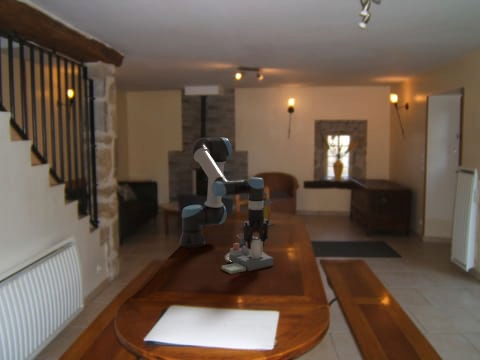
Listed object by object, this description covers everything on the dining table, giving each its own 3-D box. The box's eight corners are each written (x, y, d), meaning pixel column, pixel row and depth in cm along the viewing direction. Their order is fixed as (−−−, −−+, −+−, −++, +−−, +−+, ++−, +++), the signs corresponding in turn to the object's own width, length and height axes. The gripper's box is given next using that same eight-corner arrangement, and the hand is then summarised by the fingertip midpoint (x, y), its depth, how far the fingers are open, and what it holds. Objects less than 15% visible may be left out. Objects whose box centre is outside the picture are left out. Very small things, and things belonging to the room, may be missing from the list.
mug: (251, 257, 222) (251, 238, 221) (234, 256, 224) (234, 237, 223) (256, 251, 234) (256, 232, 233) (240, 250, 236) (240, 231, 235)
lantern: (274, 224, 300) (274, 183, 297) (265, 228, 289) (265, 185, 285) (257, 222, 308) (257, 182, 304) (247, 225, 296) (247, 184, 293)
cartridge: (248, 261, 210) (249, 237, 208) (257, 260, 212) (257, 236, 210) (253, 264, 205) (253, 239, 204) (262, 262, 207) (262, 238, 206)
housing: (229, 261, 215) (229, 248, 215) (252, 256, 224) (252, 243, 223) (248, 270, 201) (248, 256, 200) (273, 265, 209) (273, 251, 208)
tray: (221, 269, 203) (221, 265, 203) (236, 265, 208) (236, 262, 208) (230, 274, 196) (230, 270, 196) (245, 270, 201) (245, 267, 201)
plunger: (232, 251, 214) (232, 243, 214) (237, 250, 216) (237, 242, 215) (235, 253, 212) (235, 244, 211) (240, 252, 213) (240, 243, 213)
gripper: (243, 211, 198) (242, 258, 201) (275, 208, 206) (274, 253, 208) (236, 208, 205) (236, 254, 207) (268, 205, 212) (267, 249, 215)
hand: (255, 253), depth 208 cm, fingers closed on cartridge, 5 cm apart
